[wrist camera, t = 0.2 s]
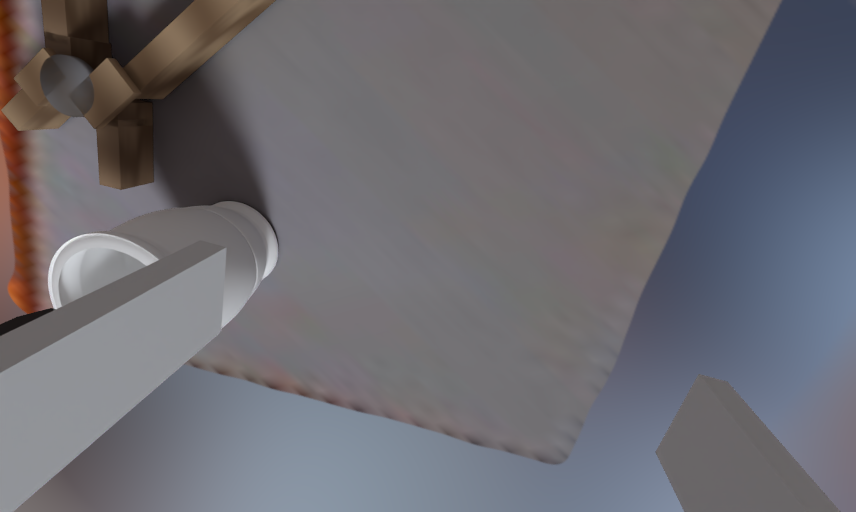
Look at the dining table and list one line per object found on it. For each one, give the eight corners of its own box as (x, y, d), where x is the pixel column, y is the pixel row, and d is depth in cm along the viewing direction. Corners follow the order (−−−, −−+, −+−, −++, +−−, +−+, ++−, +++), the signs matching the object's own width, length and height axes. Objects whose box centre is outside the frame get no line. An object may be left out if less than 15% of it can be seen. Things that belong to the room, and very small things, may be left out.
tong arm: (277, -121, 32) (241, -161, 27) (328, -37, 33) (302, -61, 28) (42, 109, 40) (-17, 110, 36) (91, 169, 42) (40, 177, 37)
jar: (169, 225, 43) (16, 284, 29) (241, 168, 40) (109, 202, 26) (238, 307, 45) (127, 398, 31) (310, 259, 42) (224, 336, 28)
